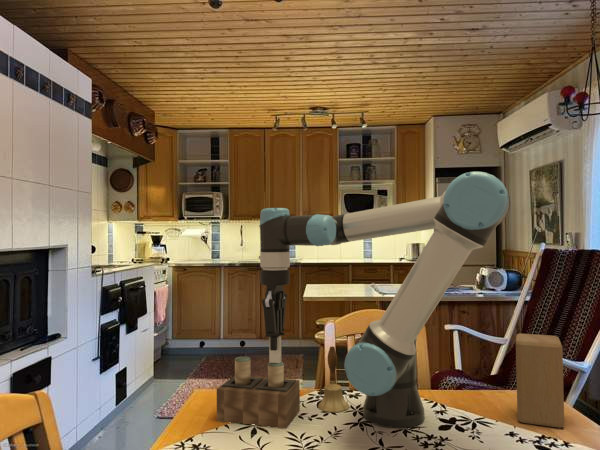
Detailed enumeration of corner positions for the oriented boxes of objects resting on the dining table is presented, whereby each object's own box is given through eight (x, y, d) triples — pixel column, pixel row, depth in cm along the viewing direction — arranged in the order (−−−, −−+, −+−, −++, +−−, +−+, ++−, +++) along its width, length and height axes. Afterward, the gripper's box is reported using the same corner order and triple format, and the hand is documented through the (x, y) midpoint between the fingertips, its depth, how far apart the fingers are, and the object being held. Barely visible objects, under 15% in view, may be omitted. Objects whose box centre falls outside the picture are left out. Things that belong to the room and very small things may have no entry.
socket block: (299, 410, 123) (299, 378, 123) (286, 428, 111) (285, 393, 112) (236, 404, 128) (235, 373, 128) (216, 421, 116) (216, 387, 116)
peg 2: (285, 394, 120) (285, 361, 120) (281, 399, 116) (280, 365, 116) (271, 393, 121) (270, 360, 121) (265, 398, 117) (265, 364, 117)
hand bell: (313, 410, 123) (313, 349, 124) (324, 400, 131) (323, 342, 131) (343, 414, 120) (343, 351, 121) (352, 403, 128) (352, 344, 128)
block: (561, 415, 118) (559, 335, 119) (564, 430, 109) (562, 343, 110) (517, 409, 122) (515, 332, 123) (517, 423, 113) (515, 340, 114)
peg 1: (252, 389, 122) (252, 357, 123) (247, 394, 118) (246, 360, 119) (238, 387, 123) (238, 356, 124) (232, 392, 120) (232, 359, 120)
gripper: (269, 267, 127) (269, 355, 126) (251, 270, 114) (252, 368, 114) (296, 267, 125) (296, 356, 124) (281, 270, 112) (281, 370, 112)
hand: (275, 362), depth 119 cm, fingers closed
